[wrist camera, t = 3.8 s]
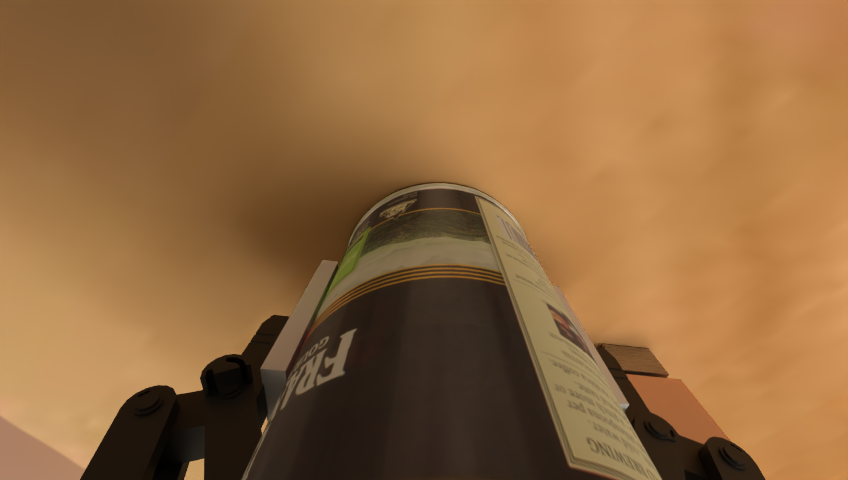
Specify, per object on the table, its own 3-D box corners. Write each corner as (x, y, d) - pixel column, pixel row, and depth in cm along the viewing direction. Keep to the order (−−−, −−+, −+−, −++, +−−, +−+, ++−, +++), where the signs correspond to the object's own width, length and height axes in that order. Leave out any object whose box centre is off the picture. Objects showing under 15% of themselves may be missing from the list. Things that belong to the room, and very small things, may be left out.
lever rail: (602, 343, 21) (649, 417, 16) (648, 348, 21) (707, 423, 17) (529, 494, 29) (547, 572, 24) (563, 497, 29) (587, 574, 24)
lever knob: (612, 372, 19) (703, 521, 13) (680, 379, 19) (803, 530, 13) (588, 418, 21) (657, 568, 14) (650, 424, 21) (745, 575, 15)
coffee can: (324, 308, 20) (147, 709, 7) (382, 148, 16) (191, 462, 3) (477, 359, 22) (543, 755, 9) (568, 227, 17) (933, 638, 5)
